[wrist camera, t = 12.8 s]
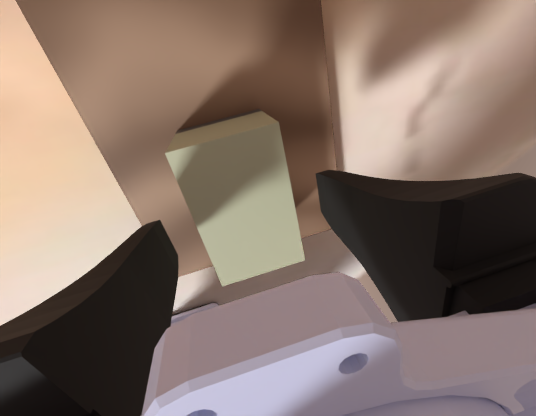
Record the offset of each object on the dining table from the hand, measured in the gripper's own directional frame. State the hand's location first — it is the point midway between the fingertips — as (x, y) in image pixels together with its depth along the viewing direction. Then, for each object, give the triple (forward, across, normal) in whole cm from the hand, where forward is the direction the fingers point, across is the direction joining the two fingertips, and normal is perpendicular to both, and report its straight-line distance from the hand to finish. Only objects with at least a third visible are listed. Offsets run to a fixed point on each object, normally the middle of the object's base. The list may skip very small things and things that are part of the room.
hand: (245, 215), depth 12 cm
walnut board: (+8, 0, -2) cm, 8 cm away
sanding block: (+6, 0, +1) cm, 6 cm away
